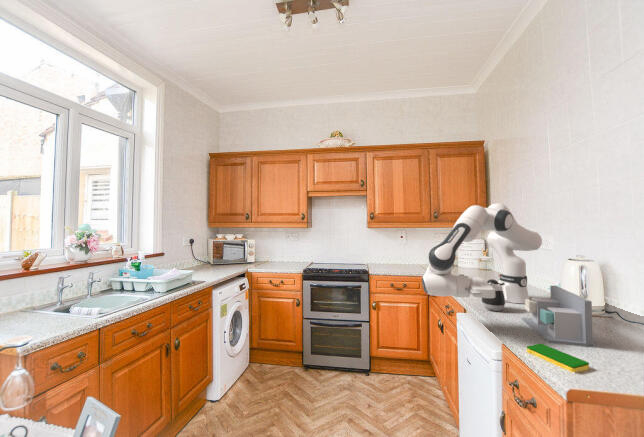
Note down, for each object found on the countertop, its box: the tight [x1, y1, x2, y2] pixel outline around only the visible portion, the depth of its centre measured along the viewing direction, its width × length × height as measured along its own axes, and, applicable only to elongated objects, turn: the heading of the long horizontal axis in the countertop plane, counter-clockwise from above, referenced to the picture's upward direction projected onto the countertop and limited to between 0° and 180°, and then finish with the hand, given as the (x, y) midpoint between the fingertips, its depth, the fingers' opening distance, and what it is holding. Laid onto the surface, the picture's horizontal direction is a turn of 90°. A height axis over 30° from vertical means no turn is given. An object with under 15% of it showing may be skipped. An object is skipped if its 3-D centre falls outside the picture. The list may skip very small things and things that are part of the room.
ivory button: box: [524, 298, 537, 313], centre depth 117 cm, size 8×4×4 cm, turn 73°
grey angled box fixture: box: [521, 285, 597, 348], centre depth 109 cm, size 14×24×16 cm, turn 163°
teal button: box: [540, 309, 554, 324], centre depth 103 cm, size 8×4×4 cm, turn 73°
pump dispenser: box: [481, 279, 506, 312], centre depth 137 cm, size 10×10×15 cm
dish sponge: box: [526, 343, 590, 373], centre depth 88 cm, size 7×14×2 cm, turn 16°
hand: (501, 287), depth 110 cm, fingers closed
